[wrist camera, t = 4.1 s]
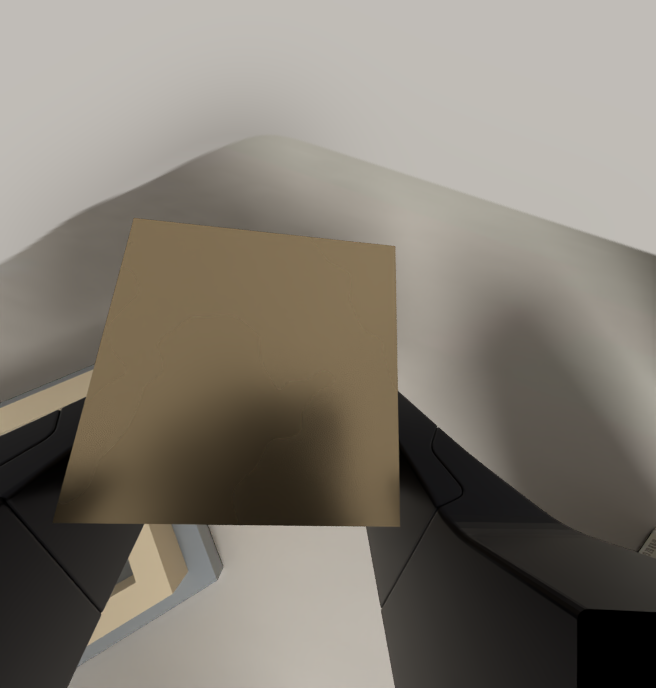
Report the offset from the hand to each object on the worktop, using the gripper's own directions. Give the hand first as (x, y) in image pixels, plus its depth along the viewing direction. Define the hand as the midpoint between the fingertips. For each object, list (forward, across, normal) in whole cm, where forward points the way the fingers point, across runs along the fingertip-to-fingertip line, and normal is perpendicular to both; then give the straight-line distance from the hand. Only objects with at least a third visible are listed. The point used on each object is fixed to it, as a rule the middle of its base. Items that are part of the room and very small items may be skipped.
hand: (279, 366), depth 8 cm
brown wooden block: (+4, 0, +5) cm, 7 cm away
